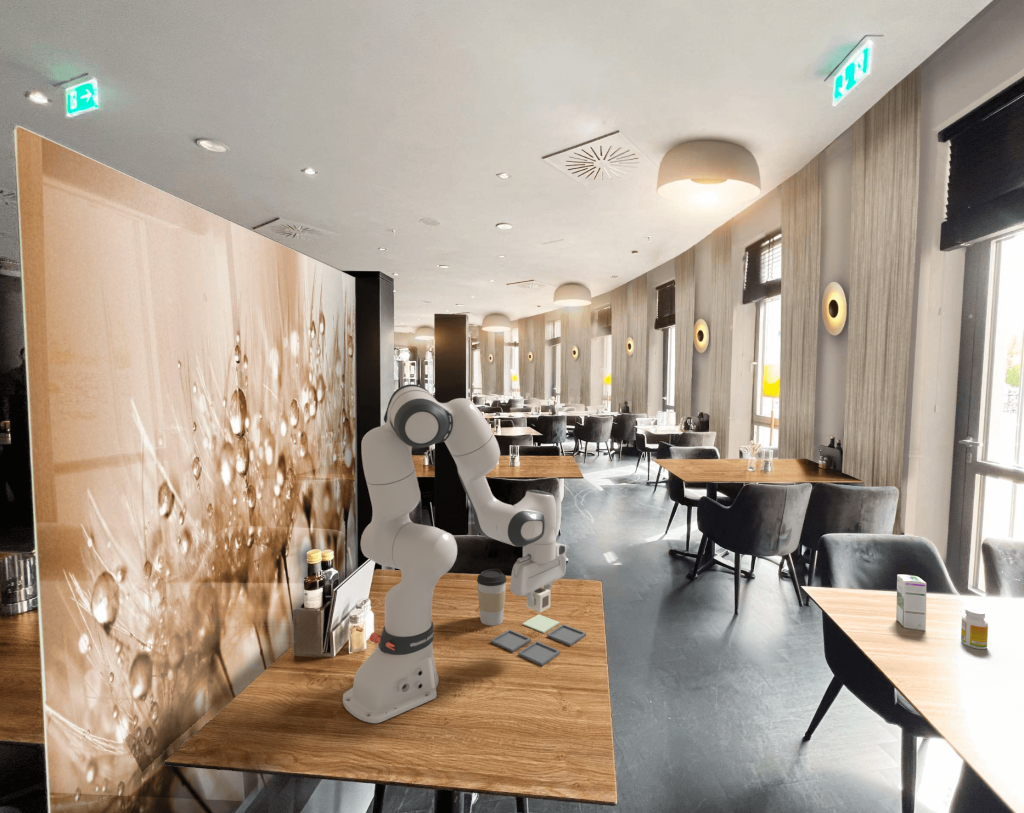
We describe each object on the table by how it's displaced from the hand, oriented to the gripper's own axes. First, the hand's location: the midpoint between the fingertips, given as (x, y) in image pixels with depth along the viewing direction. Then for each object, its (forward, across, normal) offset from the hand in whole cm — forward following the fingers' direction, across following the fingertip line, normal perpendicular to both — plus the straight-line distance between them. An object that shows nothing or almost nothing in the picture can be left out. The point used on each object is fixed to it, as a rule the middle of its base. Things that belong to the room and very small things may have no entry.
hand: (538, 602), depth 133 cm
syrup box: (+13, +87, -76) cm, 116 cm away
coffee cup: (+14, +7, +23) cm, 28 cm away
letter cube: (+1, 0, 0) cm, 1 cm away
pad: (+14, +15, +10) cm, 22 cm away
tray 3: (+14, +14, 0) cm, 20 cm away
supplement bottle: (+13, +84, -90) cm, 124 cm away
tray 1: (+14, +1, +10) cm, 17 cm away
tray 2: (+14, +1, 0) cm, 14 cm away
